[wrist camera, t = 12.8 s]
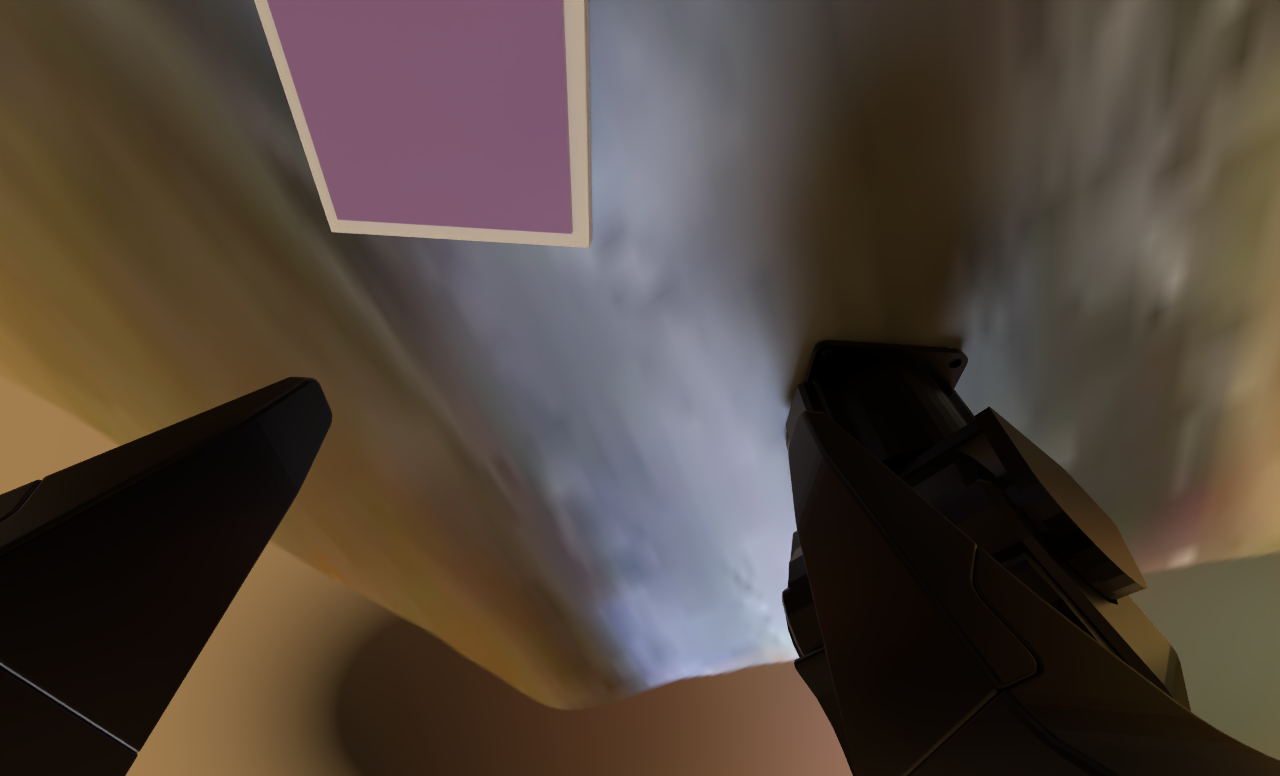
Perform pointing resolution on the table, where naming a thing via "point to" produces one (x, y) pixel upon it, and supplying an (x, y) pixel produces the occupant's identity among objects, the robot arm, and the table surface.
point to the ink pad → (442, 114)
